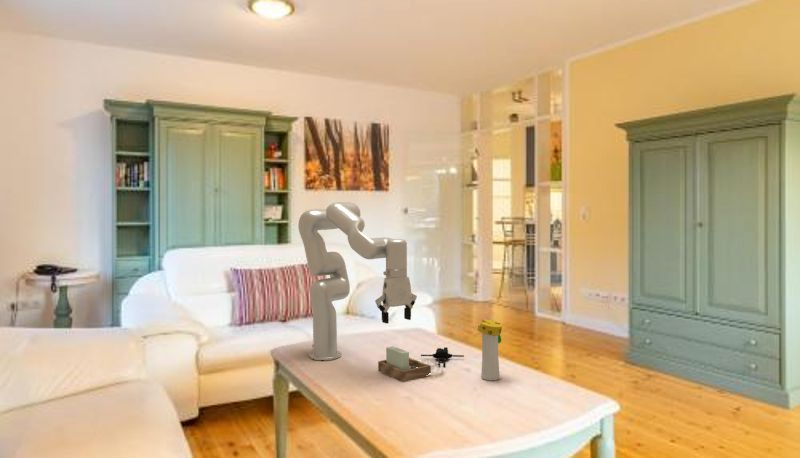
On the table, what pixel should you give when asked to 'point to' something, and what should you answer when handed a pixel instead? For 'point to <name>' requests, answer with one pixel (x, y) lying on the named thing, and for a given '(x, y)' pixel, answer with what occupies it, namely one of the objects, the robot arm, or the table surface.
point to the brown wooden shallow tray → (408, 374)
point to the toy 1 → (443, 355)
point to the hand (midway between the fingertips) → (396, 321)
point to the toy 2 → (490, 348)
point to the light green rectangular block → (397, 358)
